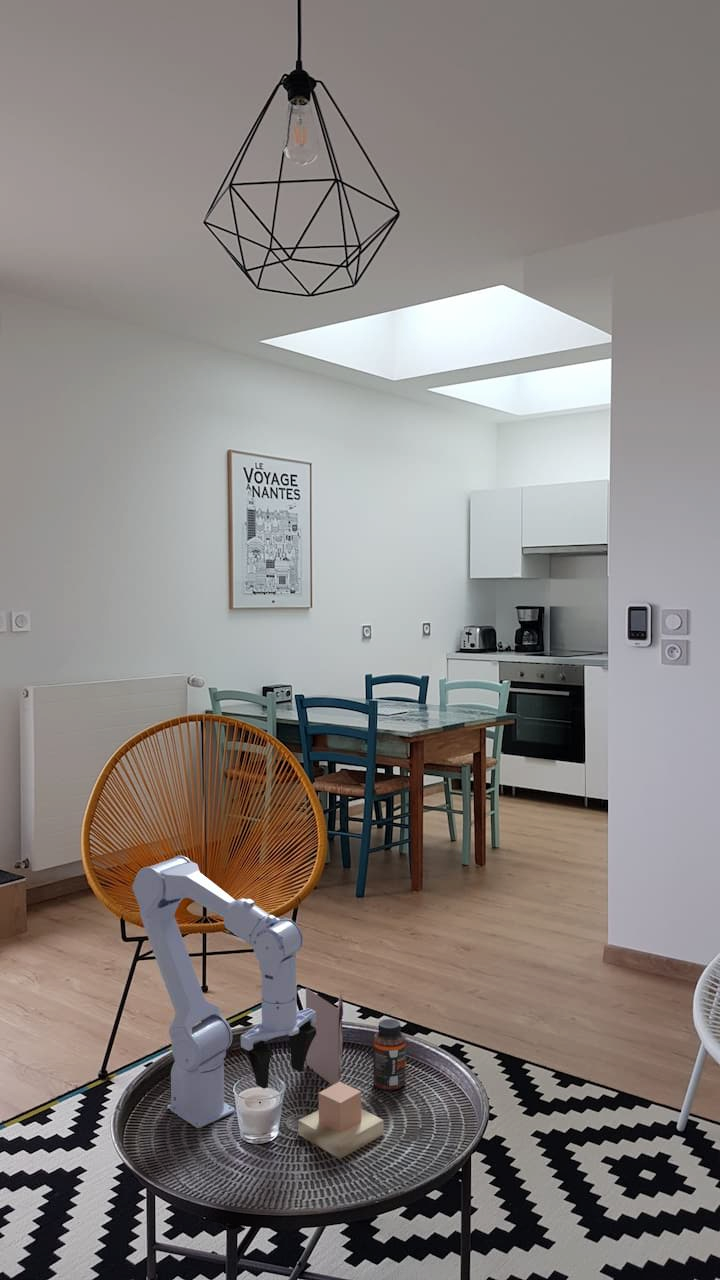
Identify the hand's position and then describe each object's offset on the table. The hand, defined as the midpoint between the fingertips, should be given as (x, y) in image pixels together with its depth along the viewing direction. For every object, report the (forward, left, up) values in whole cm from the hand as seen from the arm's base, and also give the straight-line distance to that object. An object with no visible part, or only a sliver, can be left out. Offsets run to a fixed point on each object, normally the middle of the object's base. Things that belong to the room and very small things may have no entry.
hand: (280, 1077), depth 164 cm
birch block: (+6, +8, -11) cm, 15 cm away
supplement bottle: (0, +26, -11) cm, 28 cm away
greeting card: (-11, +20, -11) cm, 25 cm away
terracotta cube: (+6, +8, -8) cm, 13 cm away
